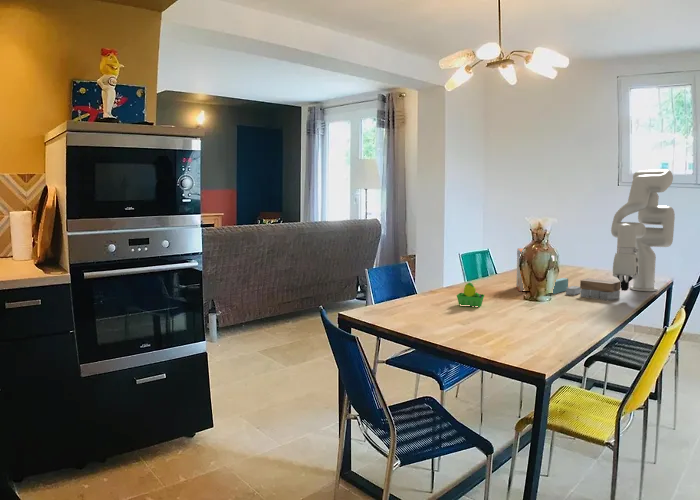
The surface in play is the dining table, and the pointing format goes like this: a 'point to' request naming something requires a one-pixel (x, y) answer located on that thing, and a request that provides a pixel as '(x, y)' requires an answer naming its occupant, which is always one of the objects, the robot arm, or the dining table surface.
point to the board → (600, 285)
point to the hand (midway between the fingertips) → (624, 290)
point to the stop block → (560, 285)
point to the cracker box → (519, 279)
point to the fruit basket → (470, 296)
